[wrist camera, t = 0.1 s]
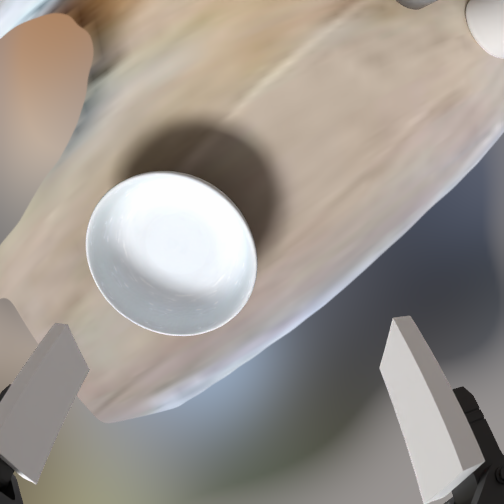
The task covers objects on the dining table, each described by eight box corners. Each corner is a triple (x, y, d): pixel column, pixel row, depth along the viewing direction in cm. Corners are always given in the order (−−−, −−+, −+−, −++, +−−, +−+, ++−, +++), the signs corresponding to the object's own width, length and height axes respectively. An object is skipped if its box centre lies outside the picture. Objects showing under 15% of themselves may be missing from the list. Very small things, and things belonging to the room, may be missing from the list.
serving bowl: (284, 199, 37) (289, 217, 31) (224, 324, 46) (219, 356, 39) (128, 139, 34) (103, 146, 28) (97, 274, 43) (77, 299, 36)
